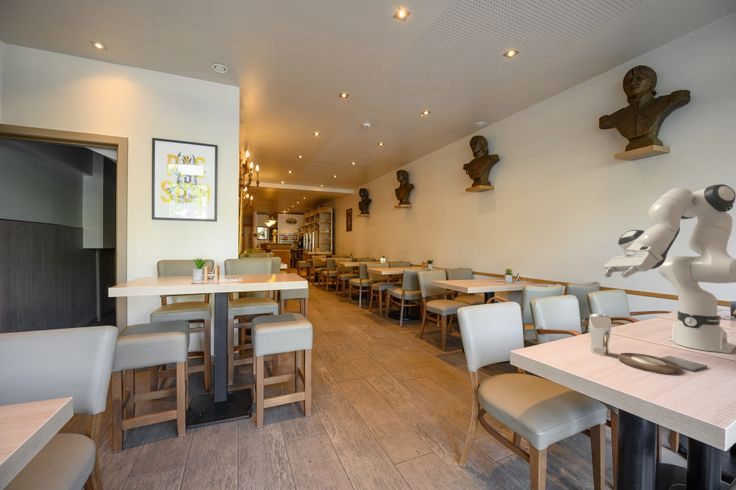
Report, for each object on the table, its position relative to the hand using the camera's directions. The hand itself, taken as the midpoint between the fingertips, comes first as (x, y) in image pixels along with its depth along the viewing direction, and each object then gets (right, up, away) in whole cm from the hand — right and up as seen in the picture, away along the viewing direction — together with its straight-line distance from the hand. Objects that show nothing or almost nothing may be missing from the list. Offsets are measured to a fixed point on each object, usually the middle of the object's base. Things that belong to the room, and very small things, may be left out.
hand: (614, 276), depth 121 cm
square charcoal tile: (+11, -30, -15) cm, 36 cm away
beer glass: (-10, -31, -4) cm, 32 cm away
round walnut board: (-2, -30, -16) cm, 34 cm away
